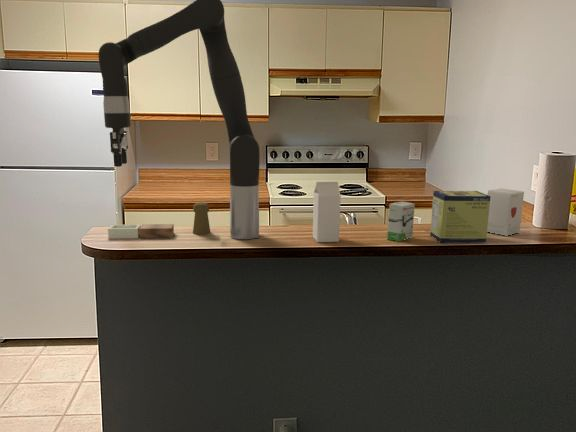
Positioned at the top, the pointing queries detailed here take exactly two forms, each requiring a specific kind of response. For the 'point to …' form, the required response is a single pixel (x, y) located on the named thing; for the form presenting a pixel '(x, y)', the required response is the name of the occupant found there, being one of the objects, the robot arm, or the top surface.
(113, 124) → the robot arm
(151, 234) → the lid
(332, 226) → the milk carton
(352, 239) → the top surface
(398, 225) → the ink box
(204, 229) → the cork
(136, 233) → the dish
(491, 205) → the supplement box
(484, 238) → the protein box
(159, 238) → the mat
